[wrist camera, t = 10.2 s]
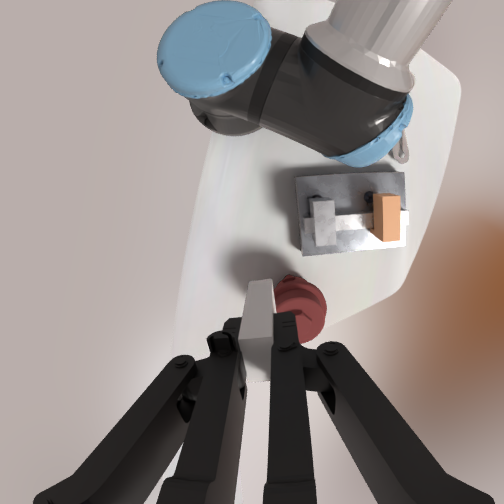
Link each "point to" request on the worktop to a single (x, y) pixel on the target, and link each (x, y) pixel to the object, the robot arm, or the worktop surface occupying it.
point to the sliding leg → (386, 217)
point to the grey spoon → (403, 139)
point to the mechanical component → (302, 305)
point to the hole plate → (348, 206)
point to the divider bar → (336, 221)
